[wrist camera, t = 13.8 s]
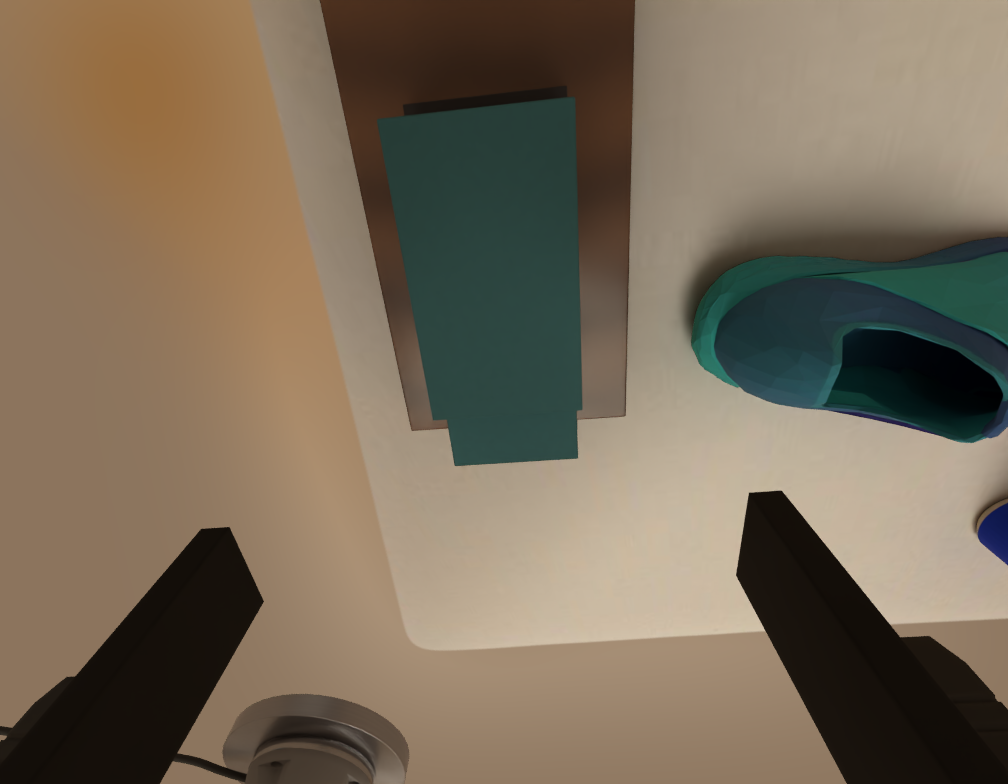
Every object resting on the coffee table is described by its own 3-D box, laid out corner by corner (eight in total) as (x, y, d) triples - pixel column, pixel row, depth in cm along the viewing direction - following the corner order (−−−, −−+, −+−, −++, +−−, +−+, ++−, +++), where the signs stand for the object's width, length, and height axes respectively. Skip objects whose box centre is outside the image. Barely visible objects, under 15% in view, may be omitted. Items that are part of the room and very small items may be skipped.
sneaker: (1051, 399, 32) (1319, 523, 21) (669, 373, 32) (745, 484, 21) (1153, 245, 28) (1561, 304, 17) (707, 214, 27) (829, 253, 17)
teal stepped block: (409, 107, 23) (359, 85, 16) (564, 89, 22) (585, 58, 15) (459, 425, 31) (441, 507, 24) (574, 418, 30) (591, 499, 23)
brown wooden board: (312, -130, 21) (282, -171, 19) (624, -178, 20) (640, -228, 18) (419, 409, 34) (411, 431, 31) (617, 395, 33) (625, 416, 30)
